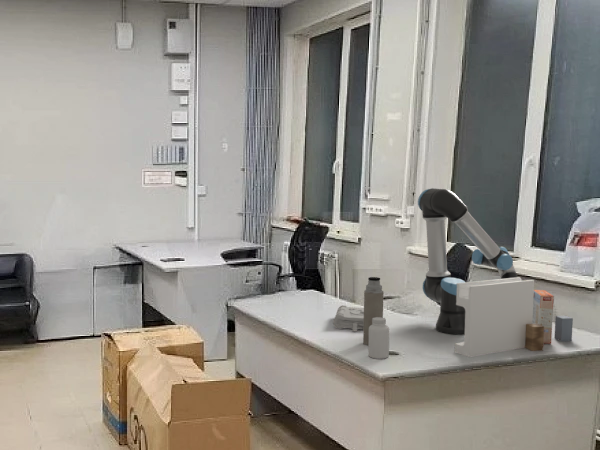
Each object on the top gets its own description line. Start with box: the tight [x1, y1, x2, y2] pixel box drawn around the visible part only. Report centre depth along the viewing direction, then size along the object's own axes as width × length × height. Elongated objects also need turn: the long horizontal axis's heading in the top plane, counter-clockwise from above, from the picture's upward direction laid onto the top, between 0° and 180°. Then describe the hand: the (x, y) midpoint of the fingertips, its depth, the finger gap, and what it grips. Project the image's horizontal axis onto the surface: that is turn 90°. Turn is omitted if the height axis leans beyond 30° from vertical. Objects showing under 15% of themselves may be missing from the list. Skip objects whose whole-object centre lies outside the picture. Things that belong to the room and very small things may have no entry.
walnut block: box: [525, 324, 544, 352], centre depth 251 cm, size 5×5×10 cm
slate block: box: [554, 315, 574, 342], centre depth 267 cm, size 5×5×10 cm
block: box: [454, 276, 535, 358], centre depth 250 cm, size 35×8×28 cm, turn 119°
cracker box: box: [532, 289, 555, 345], centre depth 266 cm, size 14×6×21 cm, turn 172°
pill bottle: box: [367, 317, 390, 360], centre depth 238 cm, size 8×8×15 cm
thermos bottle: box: [362, 276, 385, 347], centre depth 256 cm, size 8×8×28 cm
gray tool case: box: [332, 305, 364, 332], centre depth 288 cm, size 19×28×8 cm
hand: (524, 317), depth 279 cm, fingers closed
